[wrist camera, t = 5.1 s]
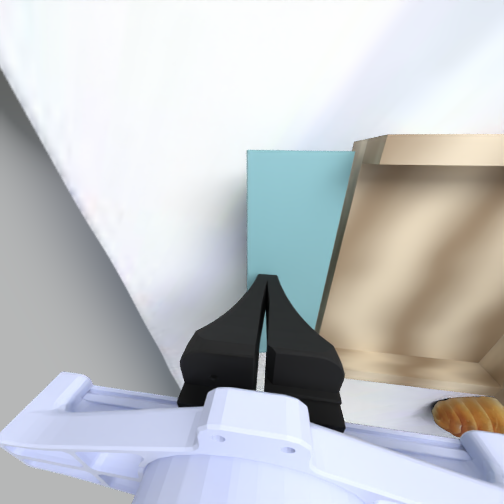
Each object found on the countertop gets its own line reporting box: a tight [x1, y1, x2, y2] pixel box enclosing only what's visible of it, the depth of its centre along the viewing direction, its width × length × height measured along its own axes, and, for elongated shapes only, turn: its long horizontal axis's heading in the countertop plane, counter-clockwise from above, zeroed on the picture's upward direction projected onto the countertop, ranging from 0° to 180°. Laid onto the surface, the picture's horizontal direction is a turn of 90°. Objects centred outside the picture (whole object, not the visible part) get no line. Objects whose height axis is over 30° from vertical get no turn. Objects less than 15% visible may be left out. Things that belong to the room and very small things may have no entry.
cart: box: [315, 134, 504, 407], centre depth 13 cm, size 15×18×8 cm
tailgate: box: [247, 150, 355, 353], centre depth 15 cm, size 2×17×6 cm
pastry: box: [432, 396, 504, 437], centre depth 23 cm, size 9×7×4 cm
